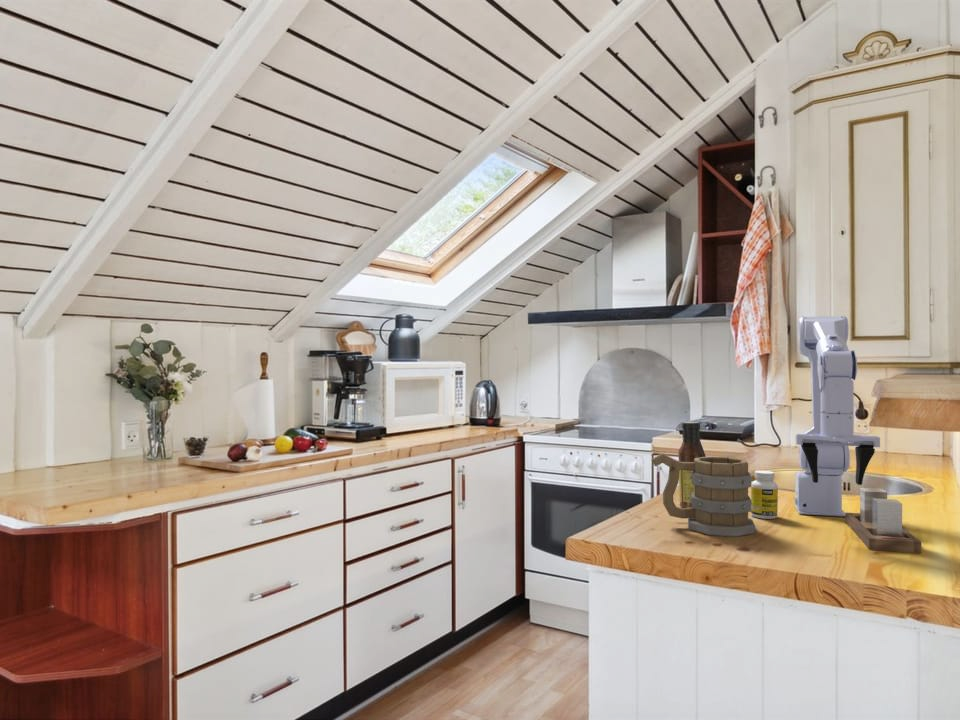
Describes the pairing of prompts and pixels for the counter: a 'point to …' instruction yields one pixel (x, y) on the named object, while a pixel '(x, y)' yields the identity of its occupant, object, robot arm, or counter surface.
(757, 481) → the supplement bottle
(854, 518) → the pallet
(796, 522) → the counter surface
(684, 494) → the sauce bottle
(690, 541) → the counter surface
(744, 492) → the tankard
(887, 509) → the block
